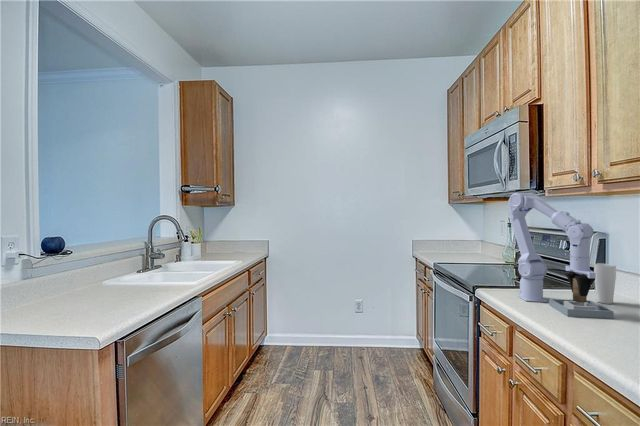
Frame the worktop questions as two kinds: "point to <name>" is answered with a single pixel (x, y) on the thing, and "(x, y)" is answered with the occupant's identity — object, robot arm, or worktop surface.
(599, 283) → the drinking glass
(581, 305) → the candle dish
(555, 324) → the worktop surface
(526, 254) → the robot arm
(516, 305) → the worktop surface
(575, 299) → the walnut peg
